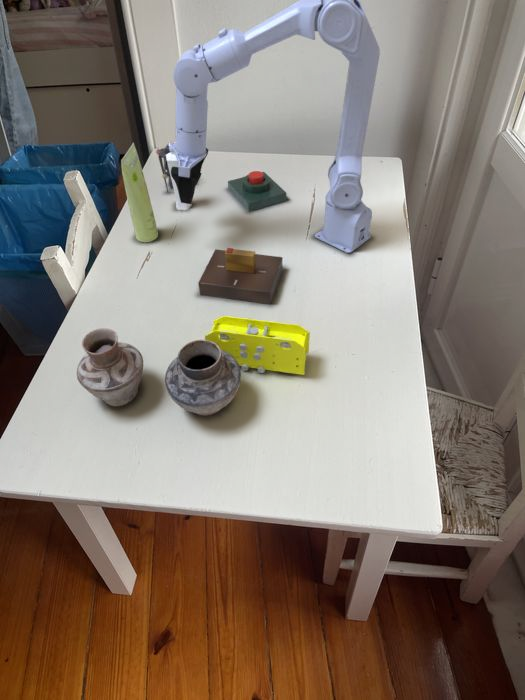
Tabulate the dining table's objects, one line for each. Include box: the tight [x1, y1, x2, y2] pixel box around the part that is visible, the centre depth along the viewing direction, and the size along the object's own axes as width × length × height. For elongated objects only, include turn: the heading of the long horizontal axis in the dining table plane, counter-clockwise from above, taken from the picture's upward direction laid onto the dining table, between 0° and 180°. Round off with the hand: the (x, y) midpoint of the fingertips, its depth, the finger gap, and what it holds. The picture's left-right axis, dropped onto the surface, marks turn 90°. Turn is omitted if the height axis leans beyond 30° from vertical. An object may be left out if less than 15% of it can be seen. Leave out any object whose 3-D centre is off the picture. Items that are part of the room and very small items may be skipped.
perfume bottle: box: [166, 141, 192, 211], centre depth 111 cm, size 5×4×15 cm
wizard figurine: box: [155, 141, 174, 193], centre depth 118 cm, size 8×6×12 cm
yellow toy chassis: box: [204, 315, 311, 376], centre depth 78 cm, size 16×6×8 cm, turn 78°
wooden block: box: [225, 247, 256, 273], centre depth 92 cm, size 6×2×4 cm, turn 77°
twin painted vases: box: [76, 327, 242, 416], centre depth 72 cm, size 11×25×12 cm, turn 82°
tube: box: [120, 142, 159, 243], centre depth 100 cm, size 6×5×20 cm
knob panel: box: [197, 248, 283, 305], centre depth 95 cm, size 14×11×3 cm
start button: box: [247, 170, 264, 184], centre depth 115 cm, size 4×4×2 cm
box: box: [227, 171, 287, 213], centre depth 117 cm, size 12×10×4 cm
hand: (189, 192), depth 99 cm, fingers open, 7 cm apart
